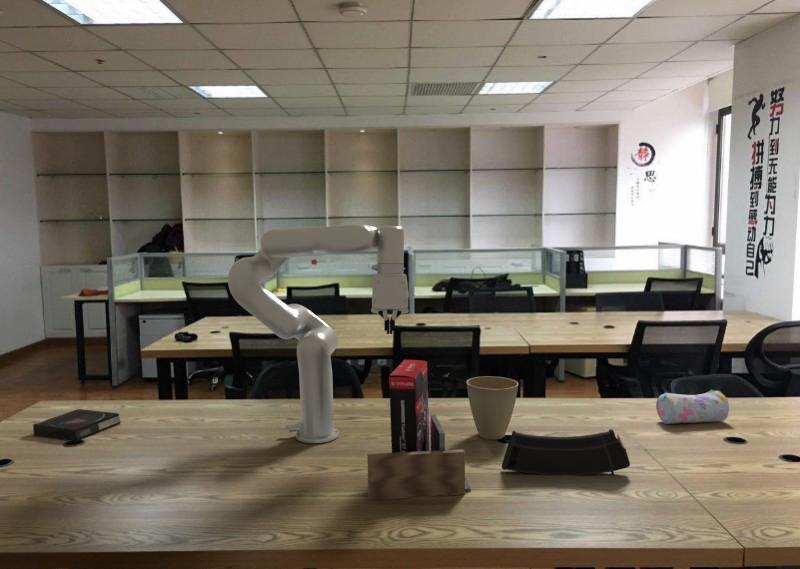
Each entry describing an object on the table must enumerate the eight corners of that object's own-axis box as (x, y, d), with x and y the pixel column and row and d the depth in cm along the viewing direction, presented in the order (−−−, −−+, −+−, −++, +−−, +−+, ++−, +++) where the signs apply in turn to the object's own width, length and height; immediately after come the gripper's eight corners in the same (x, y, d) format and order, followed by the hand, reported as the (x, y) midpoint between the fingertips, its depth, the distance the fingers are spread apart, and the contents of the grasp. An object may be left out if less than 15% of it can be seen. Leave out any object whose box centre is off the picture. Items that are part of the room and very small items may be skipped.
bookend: (439, 492, 137) (439, 433, 136) (430, 468, 151) (430, 414, 150) (470, 491, 138) (470, 432, 137) (458, 467, 152) (458, 413, 150)
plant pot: (495, 448, 164) (495, 391, 163) (456, 435, 176) (455, 382, 174) (528, 435, 174) (528, 382, 173) (489, 424, 185) (489, 373, 184)
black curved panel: (492, 439, 146) (613, 405, 143) (491, 434, 150) (609, 401, 147) (513, 504, 147) (633, 472, 144) (511, 498, 151) (629, 466, 148)
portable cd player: (77, 443, 174) (76, 429, 174) (33, 437, 180) (33, 424, 179) (120, 425, 190) (120, 413, 189) (79, 420, 195) (78, 409, 195)
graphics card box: (418, 491, 138) (417, 375, 136) (389, 488, 140) (388, 374, 137) (430, 462, 155) (429, 359, 152) (404, 461, 156) (402, 358, 154)
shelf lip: (368, 499, 134) (367, 456, 133) (368, 496, 135) (367, 454, 135) (464, 494, 136) (464, 451, 135) (463, 491, 138) (463, 449, 137)
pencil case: (712, 415, 191) (713, 386, 190) (732, 424, 183) (733, 393, 182) (653, 420, 188) (653, 390, 187) (670, 429, 179) (671, 398, 178)
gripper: (363, 270, 165) (363, 335, 167) (417, 270, 166) (416, 335, 167) (364, 268, 173) (363, 331, 174) (415, 268, 173) (414, 331, 175)
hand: (389, 333), depth 171 cm, fingers closed
